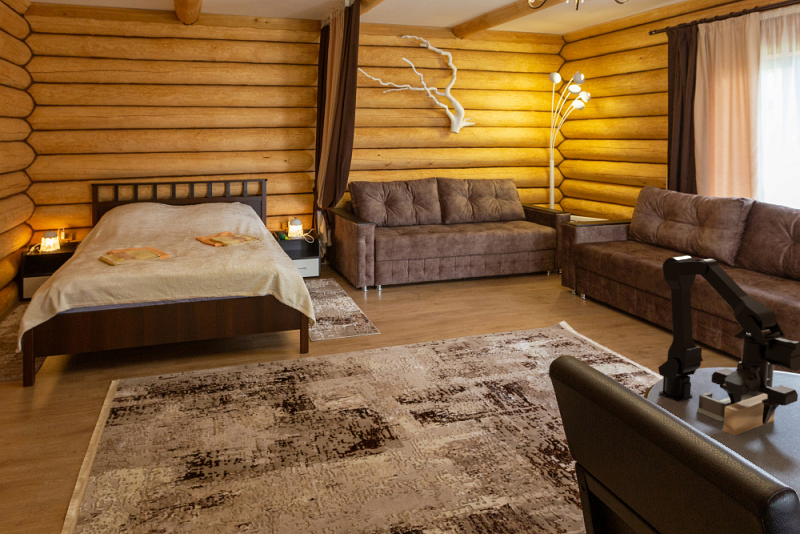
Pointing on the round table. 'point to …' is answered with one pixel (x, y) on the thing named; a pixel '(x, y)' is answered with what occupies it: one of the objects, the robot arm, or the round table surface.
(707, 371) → the round table surface
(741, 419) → the slat
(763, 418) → the robot arm
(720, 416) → the slat rail
